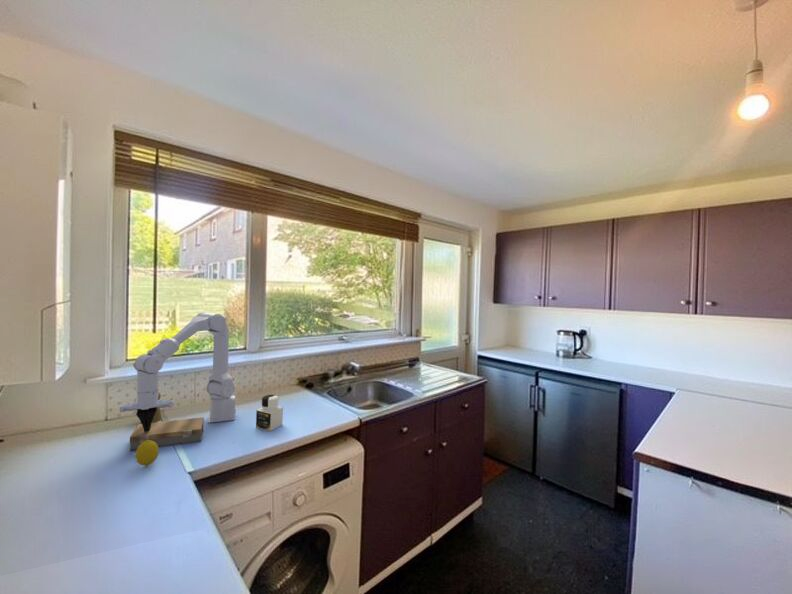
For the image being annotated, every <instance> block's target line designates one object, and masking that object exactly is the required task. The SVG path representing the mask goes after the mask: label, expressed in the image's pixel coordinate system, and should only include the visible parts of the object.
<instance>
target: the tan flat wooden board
mask: <svg viewBox="0 0 792 594" xmlns="http://www.w3.org/2000/svg"><path fill="white" fill-rule="evenodd" d="M204 420H205V417H195V418H184V419H176V420H175V419H174V420H167V421H166V420H165V421H158V422H154V423H151V428H150V430H149V431H147V432H144V429H143V425H142V423H139V424H137V426H136V427H135V429H134V430H133V432H132V433H131V435H130V436H129V443H130V442H135V441H140V443H143V442H145V441H146V440H151V439H159V438H167V437H175V436H183V437H190V436H192V434H199V433H201V431H202V426H203V422H204V423H205V421H204Z"/></svg>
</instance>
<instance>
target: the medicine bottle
mask: <svg viewBox="0 0 792 594" xmlns="http://www.w3.org/2000/svg"><path fill="white" fill-rule="evenodd" d="M255 415H256V416H255V419H256V420H255V428H256V429H257V428H258V429H260V428H261V430H265V431H268V432H271V431H272V430H275V429H277V428H279V427H280V426H282V425H283V421H284V418H283V415H284V408H283V406H280V405H279V396H278V395H275V394H266V395H264V396H263V397H262V398H261V407H260V408H258V409H256V414H255ZM276 427H277V428H276Z"/></svg>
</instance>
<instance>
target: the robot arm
mask: <svg viewBox="0 0 792 594" xmlns="http://www.w3.org/2000/svg"><path fill="white" fill-rule="evenodd" d="M229 331H230V330H229V326H228V325H227V318H226V317H225V316H223V314H221V313H210V312H205V311H201V312H198V313H197V315H195V316H193V317H192V318H191V321H190V322H189V323H187V324H186V325H185V326H184V327H183V328H181V330H180V331H178V332H177V333H176V334H175V335H174V336H172V337H171V338H165V339H161V340H159V343H158V344H156V345H155V346H154V347H153V348H151V349H149V350H148V351H147V352H146V353H143V354H140V355H139V356H137V358H135V361H134V363H132V364H133V365H132V366H133V368H134V369H135V370H136V375H137V376H136V377H137V382H136V383H137V386H136V402H133V403H132V402H131V403H125V404H121V405H120V406H119V413H124V412H131V411H132V412H133V411H136V412H135V413H136V417H137V418H138V419H139V422H141V423H140V424H142V425H143V429H144V432H147V431H149V430H150V428H151V423H152V420H153V418H154V415H155V413H156V411H157V409H158V408H160V409H162V408H163V409H165V408H169V409H172V408H173V407H174V405H175V404H174V403H175V400H174V399H171V400H170V399H169V400H167V399H166V400H163V399H159V400H158V392H159V377H160V376H159V373H160V372H159V371H161V370H162V368H163V366H164V363H165V362H166V361H167V360H168V359H170V358H171V357H172V356H174V354H176V353H177V352H178V351H179V350H180V345H182V344H183V343H184V342H186V341H187V340H189V339H190V338H191V337H193V336H194V335H195V334H197V333H198V332H208V333H210V334H211V335H213V348H212V350H213V351H212V352H213V354H212V355H213V356H212V358H213V359H212V374H210V376H209V377H208V382H207V385H206V387H205V388H206V392H207V393H208V394H209V398H210V399H209V400H210V401H209V404H210V405H209V415H208V420H207V423H218V422H219V423H220V422H227V421H234V420H235V418H236V411H237V409H236V395H233V394H234V392H235V384H234V380H233V379H234V378H233V377H232V376H231V374H230V373H229V348H230V347H229V346H230V345H229V342H230V341H229V340H230V338H229V336H230V332H229Z"/></svg>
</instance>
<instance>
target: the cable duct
mask: <svg viewBox="0 0 792 594" xmlns="http://www.w3.org/2000/svg"><path fill="white" fill-rule="evenodd" d="M204 423H205V421H204V422H203V426H202V431H201V433H199V434H192V436H190V437H183V436H175V437H167V438H159V439H151V441H154V442H156V444H157V445H158V448H164V447H170V446H171V447H172V446H181V445H187V444H194V443H201V442H202V438H203V434H204V428H205V427H204V425H205V424H204ZM140 444H141V443H140V441H135V442H130V441H129V452H133V451H135V452H136V451H137V448H138V447H139V445H140Z"/></svg>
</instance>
